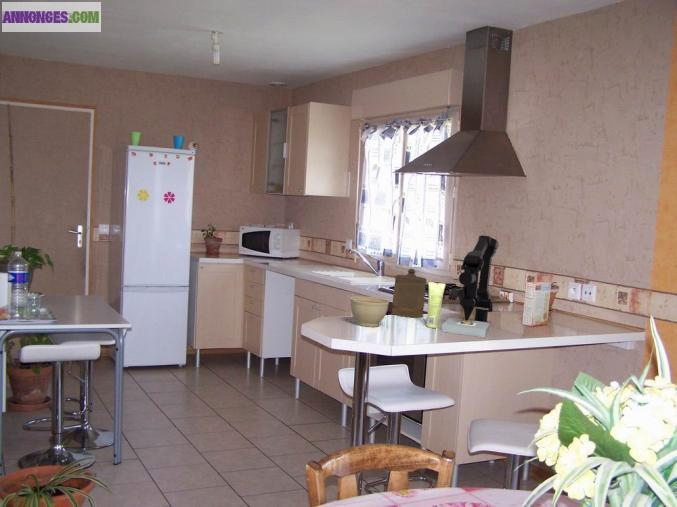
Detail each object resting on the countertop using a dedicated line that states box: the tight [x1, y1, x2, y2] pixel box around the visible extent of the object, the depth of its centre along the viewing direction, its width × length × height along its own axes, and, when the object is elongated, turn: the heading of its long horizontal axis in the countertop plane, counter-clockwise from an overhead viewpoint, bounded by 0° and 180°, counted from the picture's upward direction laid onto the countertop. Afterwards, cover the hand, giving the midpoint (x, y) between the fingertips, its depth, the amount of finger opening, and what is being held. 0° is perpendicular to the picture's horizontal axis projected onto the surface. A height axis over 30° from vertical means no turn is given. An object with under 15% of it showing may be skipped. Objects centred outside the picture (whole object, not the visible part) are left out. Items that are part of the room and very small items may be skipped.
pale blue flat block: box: [441, 317, 491, 338], centre depth 307 cm, size 22×18×3 cm
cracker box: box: [521, 281, 552, 328], centre depth 340 cm, size 14×6×21 cm, turn 134°
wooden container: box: [391, 268, 427, 319], centre depth 335 cm, size 15×15×22 cm
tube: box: [426, 281, 447, 329], centre depth 307 cm, size 6×5×20 cm
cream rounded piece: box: [460, 306, 476, 325], centre depth 307 cm, size 6×6×8 cm
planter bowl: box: [350, 296, 390, 328], centre depth 298 cm, size 16×16×11 cm
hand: (467, 319), depth 307 cm, fingers closed on cream rounded piece, 6 cm apart
